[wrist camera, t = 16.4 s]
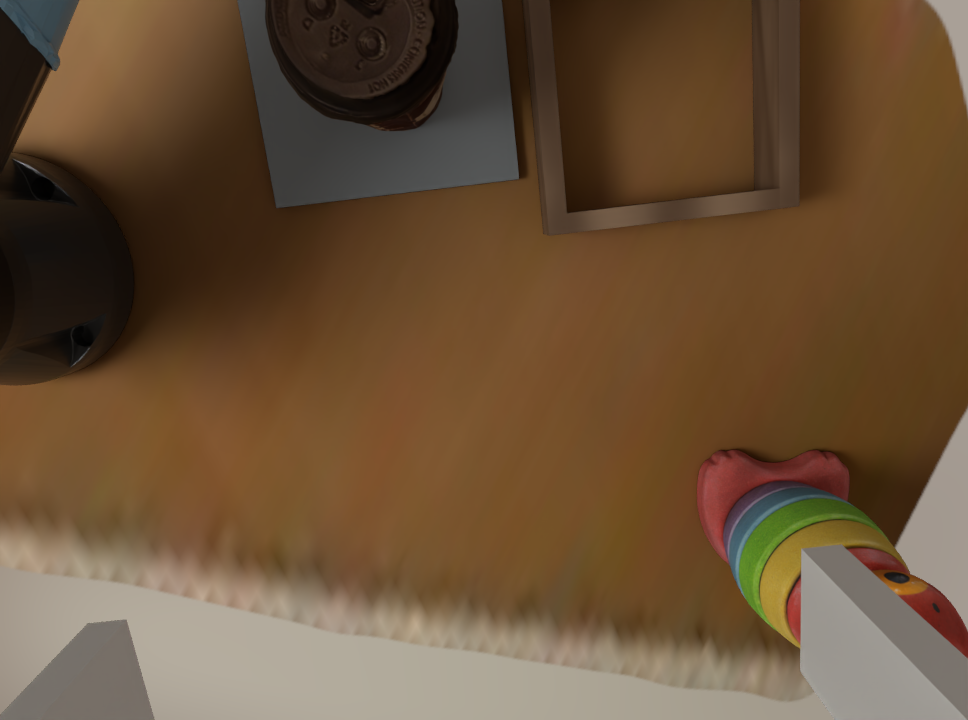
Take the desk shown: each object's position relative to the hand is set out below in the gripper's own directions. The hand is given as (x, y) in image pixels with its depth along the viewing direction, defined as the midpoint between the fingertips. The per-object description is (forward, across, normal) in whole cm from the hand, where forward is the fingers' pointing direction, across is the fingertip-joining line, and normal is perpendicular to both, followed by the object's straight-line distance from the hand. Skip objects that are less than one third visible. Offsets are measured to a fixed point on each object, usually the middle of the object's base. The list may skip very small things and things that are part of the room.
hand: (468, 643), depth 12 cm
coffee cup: (+31, -3, +17) cm, 36 cm away
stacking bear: (+32, +20, -16) cm, 41 cm away
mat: (+32, -4, +17) cm, 36 cm away
